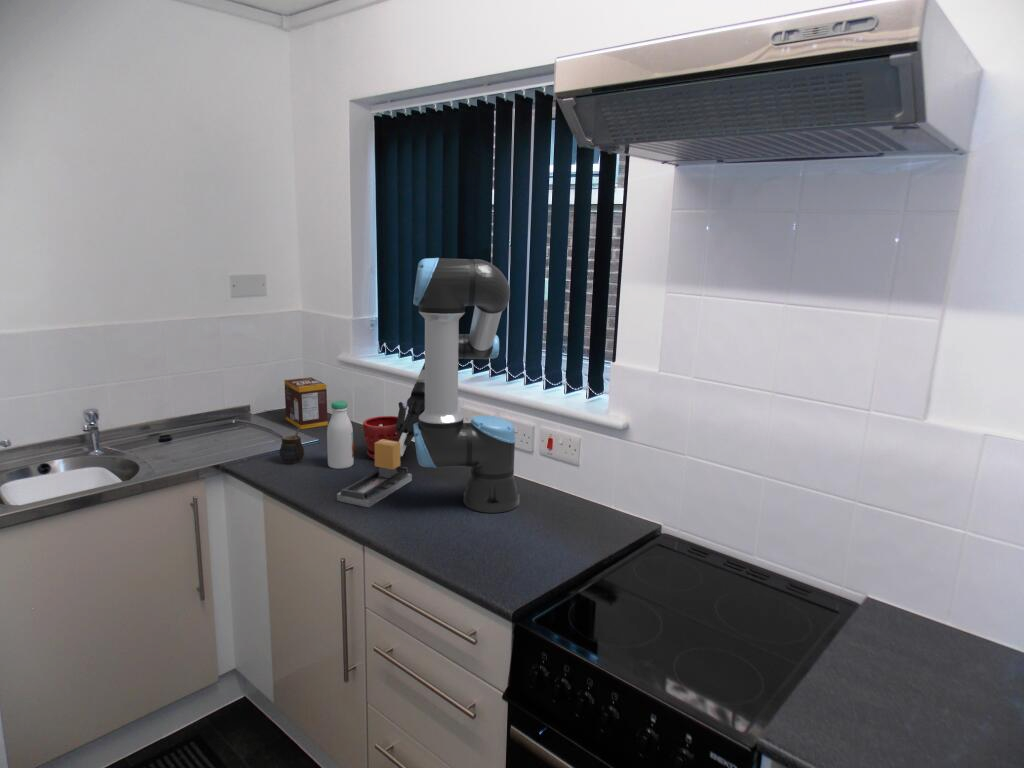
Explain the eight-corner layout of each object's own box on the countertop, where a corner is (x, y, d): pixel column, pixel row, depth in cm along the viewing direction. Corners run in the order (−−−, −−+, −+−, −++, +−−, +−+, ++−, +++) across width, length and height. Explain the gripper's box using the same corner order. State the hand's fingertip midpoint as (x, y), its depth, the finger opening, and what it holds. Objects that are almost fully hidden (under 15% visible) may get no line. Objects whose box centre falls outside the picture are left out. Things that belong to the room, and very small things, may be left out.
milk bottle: (350, 469, 202) (348, 405, 197) (324, 468, 202) (322, 405, 198) (356, 461, 209) (355, 399, 205) (332, 460, 209) (330, 398, 205)
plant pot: (399, 448, 224) (399, 413, 221) (409, 460, 212) (409, 424, 209) (360, 451, 219) (359, 416, 216) (367, 464, 207) (367, 427, 204)
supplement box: (311, 415, 258) (310, 376, 255) (328, 425, 247) (327, 384, 243) (285, 419, 252) (283, 379, 249) (300, 429, 240) (299, 387, 237)
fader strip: (382, 474, 199) (382, 463, 198) (413, 480, 195) (413, 468, 194) (335, 501, 178) (335, 488, 178) (368, 508, 175) (368, 495, 174)
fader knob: (382, 471, 195) (382, 438, 192) (400, 475, 192) (400, 441, 190) (374, 476, 191) (374, 442, 189) (392, 479, 189) (392, 445, 186)
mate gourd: (275, 464, 204) (273, 432, 202) (287, 456, 212) (286, 426, 210) (296, 466, 203) (295, 434, 201) (308, 458, 211) (307, 428, 208)
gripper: (449, 396, 208) (422, 463, 197) (412, 391, 213) (384, 456, 201) (441, 383, 202) (412, 451, 191) (404, 378, 207) (374, 444, 195)
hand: (398, 454), depth 196 cm, fingers closed
